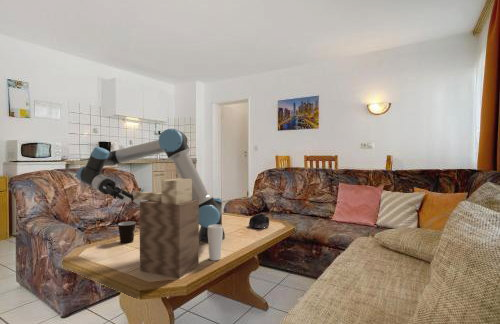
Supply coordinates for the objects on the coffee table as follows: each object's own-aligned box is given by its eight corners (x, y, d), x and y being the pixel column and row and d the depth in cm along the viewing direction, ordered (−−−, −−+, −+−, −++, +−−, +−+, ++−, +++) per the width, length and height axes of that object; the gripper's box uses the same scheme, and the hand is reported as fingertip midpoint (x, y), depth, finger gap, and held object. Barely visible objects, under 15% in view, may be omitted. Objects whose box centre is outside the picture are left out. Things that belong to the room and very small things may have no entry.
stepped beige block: (126, 200, 116) (126, 178, 116) (144, 196, 126) (144, 177, 126) (176, 204, 107) (176, 181, 107) (191, 200, 118) (191, 179, 118)
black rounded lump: (248, 225, 190) (246, 211, 189) (267, 223, 192) (266, 209, 191) (250, 232, 177) (249, 217, 176) (271, 230, 179) (270, 215, 177)
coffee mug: (129, 244, 145) (129, 225, 145) (114, 243, 147) (114, 224, 146) (141, 238, 156) (141, 220, 156) (128, 237, 158) (128, 219, 158)
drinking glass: (208, 256, 129) (208, 224, 129) (222, 256, 130) (222, 224, 129) (207, 261, 122) (207, 228, 122) (222, 261, 123) (222, 227, 123)
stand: (139, 270, 112) (139, 202, 112) (162, 258, 125) (162, 197, 125) (179, 278, 106) (179, 205, 105) (198, 264, 119) (198, 199, 118)
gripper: (115, 195, 151) (146, 212, 145) (82, 187, 127) (117, 207, 122) (122, 182, 152) (153, 199, 147) (91, 172, 128) (126, 192, 123)
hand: (137, 203), depth 134 cm, fingers open, 13 cm apart
